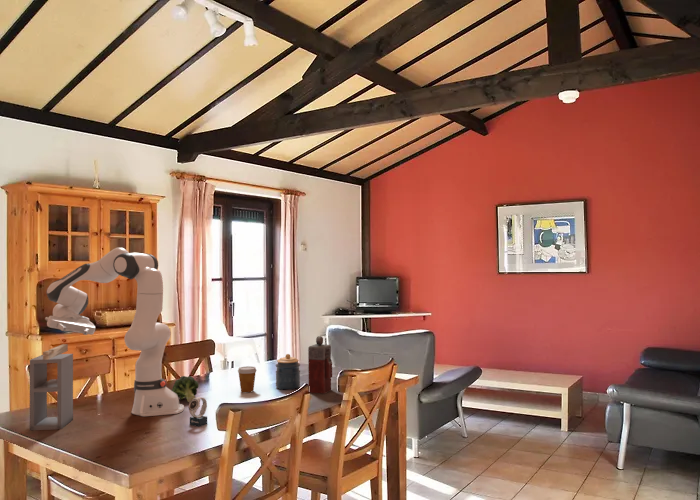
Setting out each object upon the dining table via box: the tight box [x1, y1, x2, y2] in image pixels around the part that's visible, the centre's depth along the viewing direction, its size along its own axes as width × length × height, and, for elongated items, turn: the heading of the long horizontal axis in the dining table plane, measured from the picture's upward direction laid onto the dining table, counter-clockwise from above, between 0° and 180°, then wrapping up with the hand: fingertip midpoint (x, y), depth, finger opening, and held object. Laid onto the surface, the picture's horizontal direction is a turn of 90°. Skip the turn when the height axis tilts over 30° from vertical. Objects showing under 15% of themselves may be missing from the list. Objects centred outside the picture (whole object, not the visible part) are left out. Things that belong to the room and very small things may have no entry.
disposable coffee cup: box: [237, 365, 257, 393], centre depth 298 cm, size 10×10×12 cm
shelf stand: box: [29, 353, 74, 431], centre depth 242 cm, size 12×18×28 cm, turn 7°
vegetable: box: [171, 375, 199, 404], centre depth 280 cm, size 12×13×15 cm
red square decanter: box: [307, 335, 333, 395], centre depth 297 cm, size 9×11×28 cm
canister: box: [275, 353, 301, 390], centre depth 307 cm, size 13×13×18 cm
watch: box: [188, 396, 208, 428], centre depth 238 cm, size 6×8×11 cm
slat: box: [42, 343, 69, 360], centre depth 244 cm, size 2×22×3 cm, turn 7°
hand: (75, 331), depth 257 cm, fingers open, 8 cm apart
